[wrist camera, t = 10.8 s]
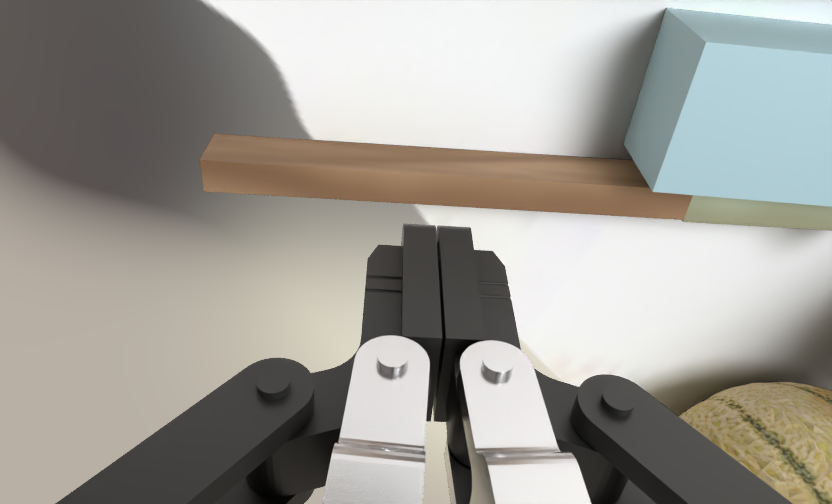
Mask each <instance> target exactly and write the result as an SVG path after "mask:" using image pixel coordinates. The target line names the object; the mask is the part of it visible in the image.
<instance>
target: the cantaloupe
mask: <svg viewBox="0 0 832 504" xmlns="http://www.w3.org/2000/svg"><path fill="white" fill-rule="evenodd" d="M679 417H680V418H681V419H683V420H684V421H685V422H687V423H688V424H689V425H691V426H692V427H693V428H694V429H696V430H697V431H698V432H700V433H701V434H702V435H704V436H705V437H706V438H708V439H709V440H710V441H711V442H713V443H714V444H715V445H717V446H718V447H719V448H721V449H722V450H723V451H725V452H726V453H727V454H728V455H730V456H731V457H732V458H734V459H735V460H736V461H738V462H739V463H740V464H742V465H743V466H744V467H745V468H747V469H748V470H749V471H751V472H752V473H753V474H755V475H756V476H757V477H759V478H760V479H761V480H762V481H764V482H765V483H766V484H768V485H769V486H770V487H772V488H773V489H774V490H776V491H777V492H778V493H779V494H781V495H782V496H783V497H785V498H786V499H787V500H789V501H790V502H791V503H793V504H832V391H830V390H827V389H823V388H820V387H816V386H811V385H807V384H798V383H793V382H773V383H750V384H746V385H742V386H737V387H732V388H729V389H726V390H723V391H721V392H718V393H716V394H714V395H712V396H711V397H709V398H708V399H706V400H705V401H703V402H700V403H698V404H696V405H695V406H692V407H691V408H690V409H689V410H687V411H686V412H684V413H682V414H681V415H680V416H679Z"/></svg>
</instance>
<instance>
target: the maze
mask: <svg viewBox="0 0 832 504" xmlns="http://www.w3.org/2000/svg"><path fill="white" fill-rule="evenodd" d="M200 168H201V175H202V183H203V190H204V191H205V192H222V193H223V192H224V193H240V194H255V195H272V196H289V197H307V198H323V199H340V200H341V199H342V200H357V201H374V202H391V203H408V204H425V205H442V206H459V207H476V208H493V209H510V210H527V211H544V212H561V213H578V214H595V215H611V216H628V217H645V218H662V219H679V220H682V221H683V222H697V223H714V224H731V225H748V226H765V227H782V228H799V229H816V230H832V207H831V206H819V205H806V204H794V203H782V202H770V201H758V200H746V199H733V198H721V197H709V196H697V195H685V194H673V193H660V192H652V190H651V189H650V187H649V185H648V184H647V182H646V180H645V179H644V177H643V175H642V174H641V172H640V170H639V169H638V167H637V165H636V164H635V162H634V160H620V159H604V158H589V157H573V156H557V155H541V154H525V153H510V152H494V151H478V150H462V149H447V148H431V147H415V146H399V145H384V144H368V143H352V142H336V141H321V140H305V139H288V138H273V137H257V136H241V135H226V134H214V135H213V137H212V139H211V140H210V142H209V144H208V146H207V148H206V149H205V151H204V153H203V155H202V157H201V158H200Z"/></svg>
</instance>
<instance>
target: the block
mask: <svg viewBox="0 0 832 504" xmlns="http://www.w3.org/2000/svg"><path fill="white" fill-rule="evenodd" d="M624 146H625V147H626V149H627V150H628V152H629V154H630V155H631V157H632V159H633V160H634V162H635V164H636V165H637V167H638V169H639V170H640V172H641V174H642V175H643V177H644V179H645V180H646V182H647V184H648V185H649V187H650V189H651V190H652V192H660V193H673V194H685V195H697V196H709V197H721V198H733V199H746V200H758V201H770V202H782V203H794V204H806V205H819V206H831V207H832V25H829V24H819V23H810V22H800V21H790V20H780V19H770V18H761V17H751V16H741V15H731V14H721V13H712V12H702V11H692V10H682V9H672V8H666V10H665V13H664V17H663V20H662V23H661V26H660V29H659V33H658V36H657V39H656V42H655V45H654V48H653V52H652V55H651V58H650V61H649V64H648V68H647V71H646V74H645V77H644V80H643V83H642V87H641V90H640V93H639V96H638V99H637V103H636V106H635V109H634V112H633V115H632V119H631V122H630V125H629V128H628V131H627V134H626V138H625V141H624Z"/></svg>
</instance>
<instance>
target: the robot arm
mask: <svg viewBox="0 0 832 504" xmlns="http://www.w3.org/2000/svg"><path fill="white" fill-rule="evenodd" d="M432 408H433V411H434V421H438V422H446V425H447V442H446V448H445V453H444V455H445V465H446V472H447V479H448V486H449V494H450V501H451V504H793V503H791V502H790V501H789V500H787V499H786V498H785V497H783V496H782V495H781V494H779V493H778V492H777V491H776V490H774V489H773V488H772V487H770V486H769V485H768V484H766V483H765V482H764V481H762V480H761V479H760V478H759V477H757V476H756V475H755V474H753V473H752V472H751V471H749V470H748V469H747V468H745V467H744V466H743V465H742V464H740V463H739V462H738V461H736V460H735V459H734V458H732V457H731V456H730V455H728V454H727V453H726V452H725V451H723V450H722V449H721V448H719V447H718V446H717V445H715V444H714V443H713V442H711V441H710V440H709V439H708V438H706V437H705V436H704V435H702V434H701V433H700V432H698V431H697V430H696V429H694V428H693V427H692V426H691V425H689V424H688V423H687V422H685V421H684V420H683V419H681V418H680V417H679V416H677V415H676V414H675V413H674V412H672V411H671V410H670V409H668V408H667V407H666V406H664V405H663V404H662V403H660V402H659V401H658V400H657V399H655V398H654V397H653V396H651V395H650V394H649V393H647V392H646V391H645V390H643V389H642V388H641V387H639V386H638V385H636V384H635V383H633V382H631V381H629V380H627V379H625V378H622V377H619V376H615V375H596V376H593V377H590V378H588V379H586V380H585V381H584V382H583V383H582V384H581V386H580V387H577V386H573V385H570V384H567V383H564V382H560V381H557V380H554V379H552V378H549V377H547V376H545V375H543V374H542V373H540V372H538V371H537V370H536V369H534V367H533V365H532V362H531V361H530V359H529V358H528V357H527V355H526V354H525V353H524V352H522V351H521V348H520V343H519V338H518V333H517V328H516V322H515V317H514V312H513V307H512V302H511V299H510V291H509V286H508V281H507V275H506V270H505V266H504V265H503V263H502V262H501V261H500V260H499V258H498V257H497V256H496V255H495V253H494V252H493V251H481V250H474V248H473V240H472V233H471V228H470V227H453V226H438V227H437V231H436V226H434V225H417V224H403V230H402V242H401V246H391V245H378V246H377V248H376V249H375V250H374V251H373V253H372V254H371V255H370V257H369V258H368V262H367V276H366V287H365V299H364V311H363V323H362V336H361V343H360V346H359V349H358V350H357V352H356V353H355V354H354V355H353V357H352V358H351V359H349V360H348V361H347V362H345V363H343V364H342V365H340V366H337V367H335V368H332V369H329V370H324V371H320V372H315V373H310V372H309V370H308V369H307V368H306V367H304V366H303V365H302V364H300V363H298V362H296V361H294V360H290V359H285V358H269V359H264V360H261V361H258V362H256V363H253V364H252V365H250V366H248V367H247V368H245V369H244V370H242V371H241V372H240V373H238V374H237V375H235V376H234V377H233V378H231V379H230V380H228V381H227V382H226V383H224V384H223V385H221V386H220V387H218V388H217V389H216V390H214V391H213V392H212V393H210V394H209V395H207V396H206V397H205V398H203V399H202V400H200V401H199V402H198V403H196V404H195V405H193V406H192V407H190V408H189V409H188V410H186V411H185V412H183V413H182V414H181V415H179V416H178V417H177V418H175V419H174V420H172V421H171V422H169V423H168V424H167V425H165V426H164V427H163V428H161V429H160V430H158V431H157V432H155V433H154V434H153V435H151V436H150V437H148V438H147V439H146V440H144V441H143V442H141V443H140V444H139V445H137V446H136V447H134V448H133V449H132V450H130V451H129V452H127V453H126V454H125V455H123V456H122V457H121V458H119V459H118V460H116V461H115V462H113V463H112V464H111V465H110V466H108V467H106V468H105V469H104V470H102V471H101V472H99V473H98V474H97V475H95V476H94V477H92V478H91V479H90V480H88V481H87V482H85V483H84V484H83V485H81V486H80V487H79V488H77V489H76V490H74V491H73V492H71V493H70V494H69V495H67V496H66V497H64V498H63V499H62V500H60V501H59V502H57V503H56V504H304V503H305V502H306V501H307V500H308V499H309V497H310V496H311V494H312V493H313V491H314V489H316V488H320V487H323V486H325V490H324V495H323V500H322V504H423V489H424V473H425V451H424V447H425V431H426V421H431V415H432Z"/></svg>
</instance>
